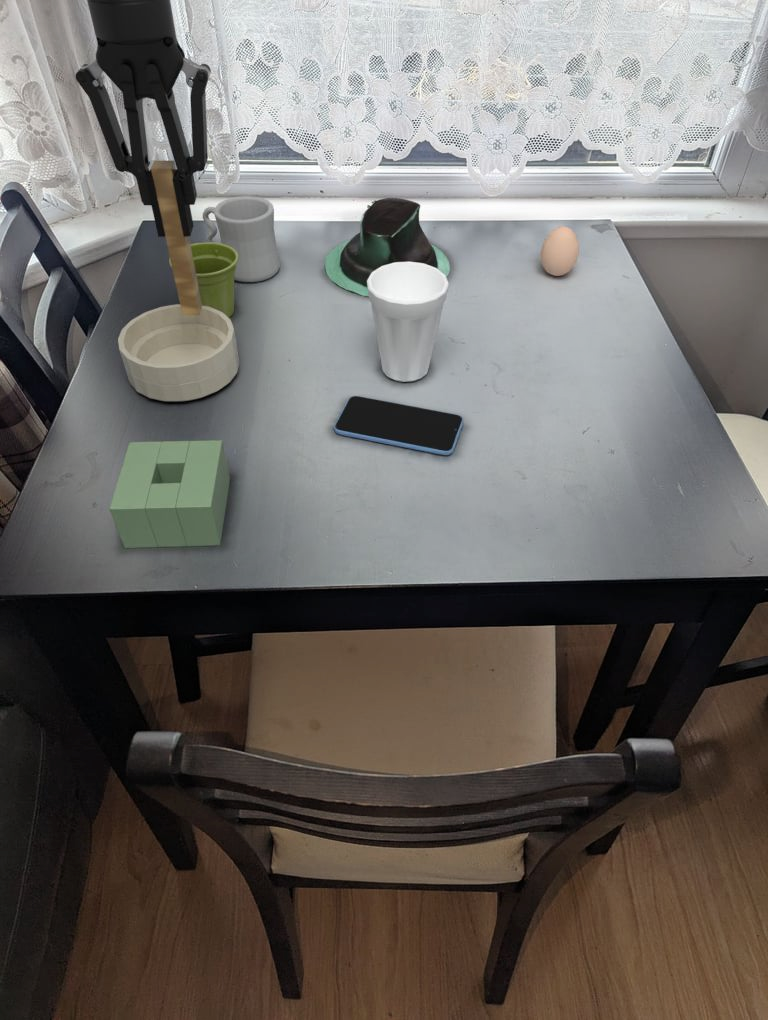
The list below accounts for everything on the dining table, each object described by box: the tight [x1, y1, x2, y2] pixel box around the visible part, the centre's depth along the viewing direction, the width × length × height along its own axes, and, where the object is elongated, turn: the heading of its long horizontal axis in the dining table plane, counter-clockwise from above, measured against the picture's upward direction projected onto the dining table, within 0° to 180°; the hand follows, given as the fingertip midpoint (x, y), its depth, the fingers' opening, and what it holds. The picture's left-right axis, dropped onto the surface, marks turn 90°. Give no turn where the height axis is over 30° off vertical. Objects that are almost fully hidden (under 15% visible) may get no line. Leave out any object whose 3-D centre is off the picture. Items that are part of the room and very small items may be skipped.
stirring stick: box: [150, 160, 202, 315], centre depth 86 cm, size 2×2×18 cm
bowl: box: [117, 303, 240, 402], centre depth 95 cm, size 14×14×6 cm
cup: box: [367, 262, 450, 383], centre depth 93 cm, size 10×10×13 cm
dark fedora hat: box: [324, 197, 451, 297], centre depth 116 cm, size 15×19×20 cm
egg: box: [540, 226, 580, 277], centre depth 113 cm, size 6×6×8 cm
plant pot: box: [168, 241, 238, 319], centre depth 104 cm, size 9×9×9 cm
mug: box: [202, 195, 281, 283], centre depth 113 cm, size 12×9×10 cm
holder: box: [109, 439, 231, 549], centre depth 78 cm, size 10×10×6 cm
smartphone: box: [333, 395, 464, 456], centre depth 89 cm, size 7×1×15 cm
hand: (176, 230), depth 85 cm, fingers closed on stirring stick, 2 cm apart
